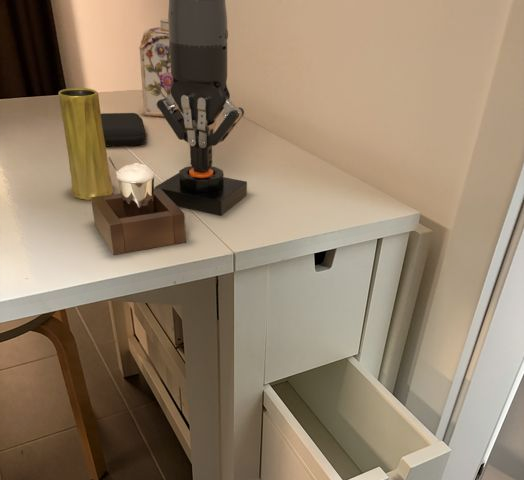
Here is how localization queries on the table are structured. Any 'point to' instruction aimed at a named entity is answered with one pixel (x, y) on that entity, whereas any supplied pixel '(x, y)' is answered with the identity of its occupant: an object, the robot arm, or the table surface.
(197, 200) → the confirm box
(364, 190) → the table surface
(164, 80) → the decorative jar
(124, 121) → the carrying case
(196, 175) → the button
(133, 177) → the milkshake
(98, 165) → the vase
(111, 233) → the socket
